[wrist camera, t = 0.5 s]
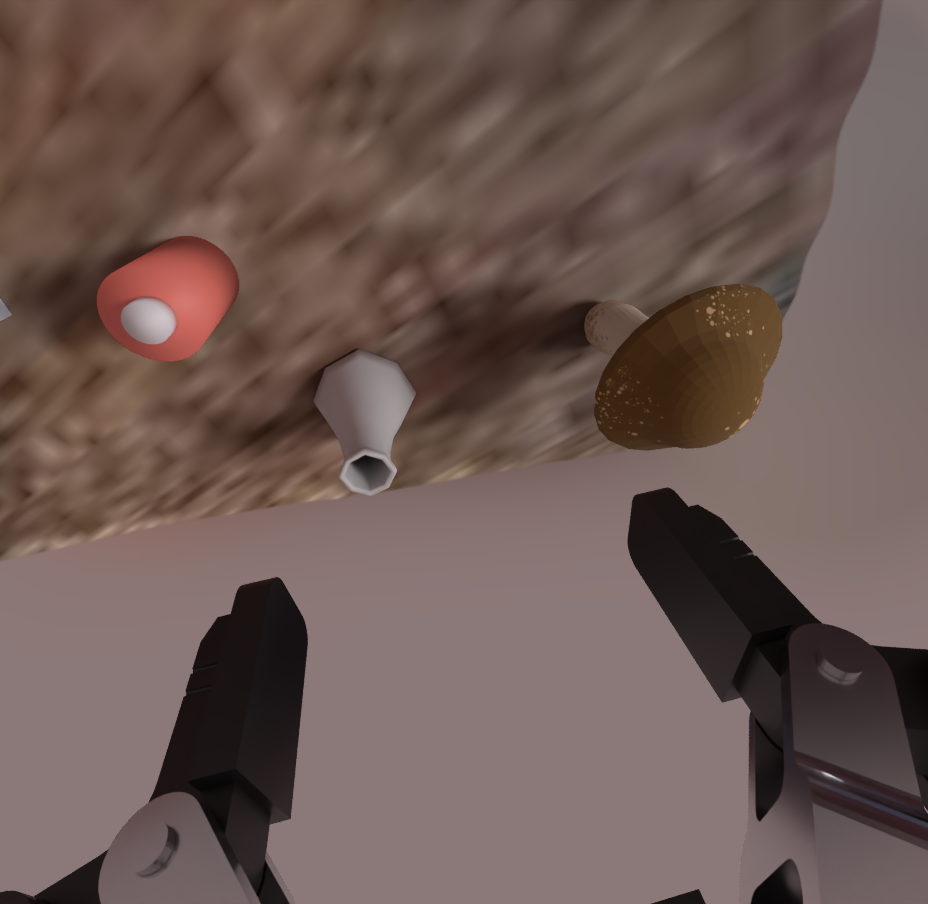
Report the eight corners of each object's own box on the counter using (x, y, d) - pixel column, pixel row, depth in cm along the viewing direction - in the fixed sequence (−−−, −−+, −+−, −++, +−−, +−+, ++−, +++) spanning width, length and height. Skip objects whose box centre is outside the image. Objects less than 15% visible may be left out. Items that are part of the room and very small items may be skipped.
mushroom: (691, 317, 36) (858, 410, 24) (566, 399, 38) (663, 522, 26) (654, 210, 31) (845, 260, 19) (513, 313, 33) (602, 416, 21)
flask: (357, 329, 32) (357, 396, 24) (432, 390, 35) (454, 465, 27) (295, 400, 34) (275, 484, 26) (372, 450, 37) (376, 537, 29)
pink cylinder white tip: (139, 242, 26) (62, 280, 20) (220, 230, 27) (173, 264, 20) (177, 319, 29) (121, 377, 22) (250, 307, 29) (218, 360, 23)
